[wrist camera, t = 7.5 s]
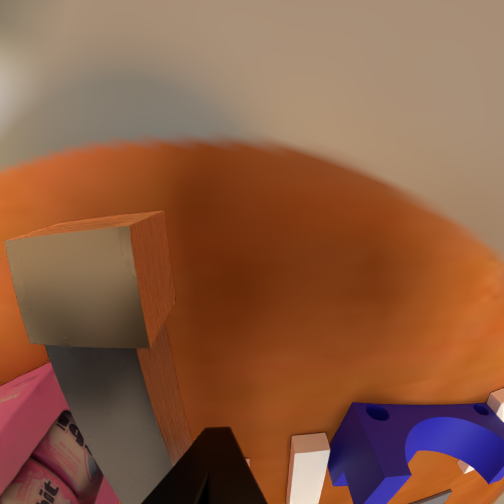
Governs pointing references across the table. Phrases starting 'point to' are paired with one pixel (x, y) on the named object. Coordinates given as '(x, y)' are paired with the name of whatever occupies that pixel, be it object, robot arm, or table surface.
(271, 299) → the table surface
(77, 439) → the gum box
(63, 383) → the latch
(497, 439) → the cable clip
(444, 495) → the mat
